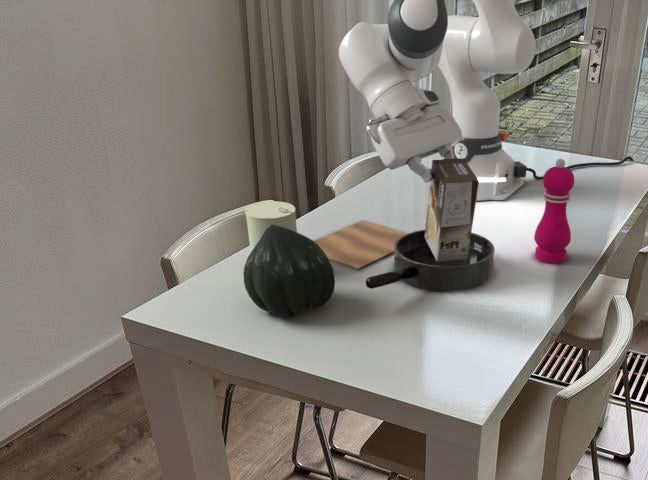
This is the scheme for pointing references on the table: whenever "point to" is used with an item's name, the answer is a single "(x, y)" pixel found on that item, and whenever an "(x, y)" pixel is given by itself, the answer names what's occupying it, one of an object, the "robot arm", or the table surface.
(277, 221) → the can
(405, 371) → the table surface
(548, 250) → the pepper mill
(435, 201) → the coffee box
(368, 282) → the pan handle
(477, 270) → the pan
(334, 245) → the wooden board
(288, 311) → the squash
